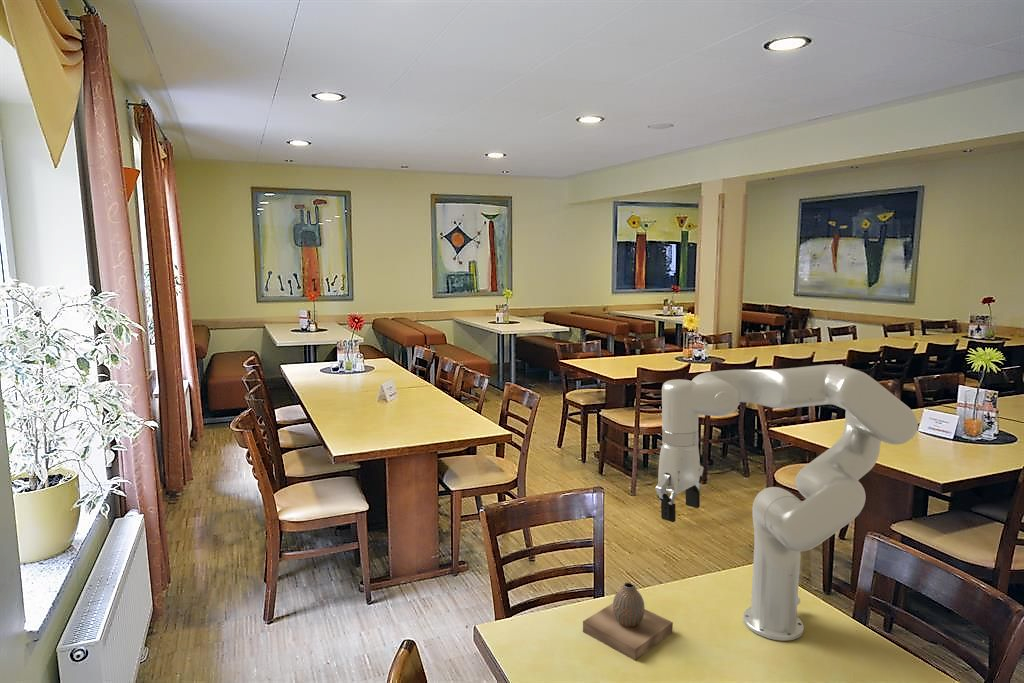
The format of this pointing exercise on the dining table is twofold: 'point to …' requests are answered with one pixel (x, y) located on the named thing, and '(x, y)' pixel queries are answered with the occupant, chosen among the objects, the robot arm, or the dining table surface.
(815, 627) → the dining table surface
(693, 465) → the robot arm
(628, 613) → the vase
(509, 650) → the dining table surface
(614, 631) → the plinth
